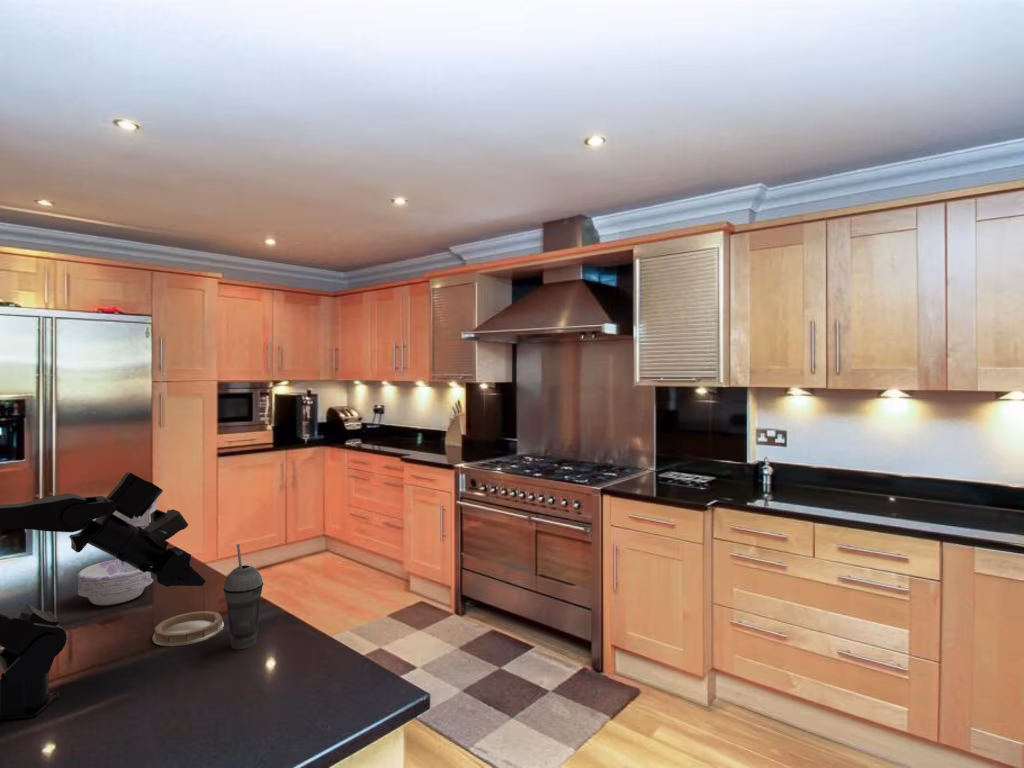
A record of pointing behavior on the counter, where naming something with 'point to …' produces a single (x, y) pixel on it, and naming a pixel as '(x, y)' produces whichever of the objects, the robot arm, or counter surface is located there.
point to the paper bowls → (112, 582)
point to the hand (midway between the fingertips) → (194, 578)
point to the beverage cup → (243, 604)
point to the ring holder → (188, 628)
